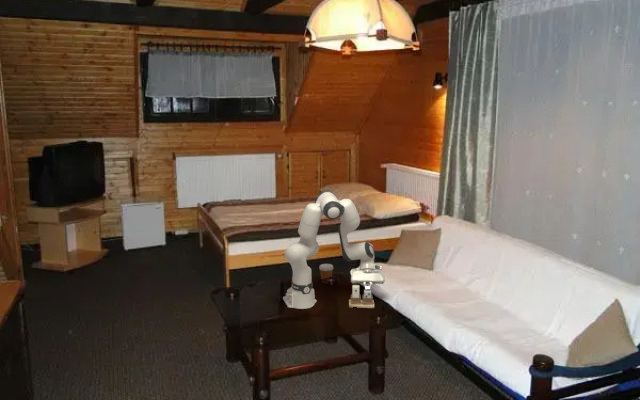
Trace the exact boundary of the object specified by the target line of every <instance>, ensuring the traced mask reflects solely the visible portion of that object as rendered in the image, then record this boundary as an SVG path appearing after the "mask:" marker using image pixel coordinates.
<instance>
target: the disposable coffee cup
mask: <svg viewBox="0 0 640 400" xmlns="http://www.w3.org/2000/svg"><path fill="white" fill-rule="evenodd" d="M318 267H319V273H320V280H321V279H324V278H329V277H333V270H334V269H335V268H334V265H333V264H332V263H322V264H319V266H318Z"/></svg>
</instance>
